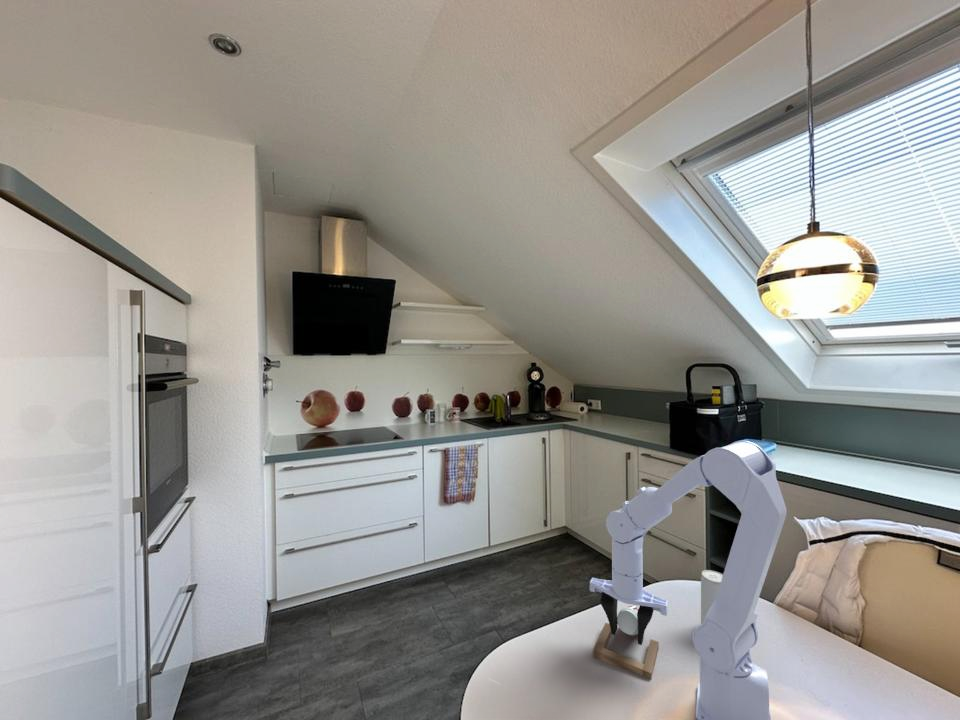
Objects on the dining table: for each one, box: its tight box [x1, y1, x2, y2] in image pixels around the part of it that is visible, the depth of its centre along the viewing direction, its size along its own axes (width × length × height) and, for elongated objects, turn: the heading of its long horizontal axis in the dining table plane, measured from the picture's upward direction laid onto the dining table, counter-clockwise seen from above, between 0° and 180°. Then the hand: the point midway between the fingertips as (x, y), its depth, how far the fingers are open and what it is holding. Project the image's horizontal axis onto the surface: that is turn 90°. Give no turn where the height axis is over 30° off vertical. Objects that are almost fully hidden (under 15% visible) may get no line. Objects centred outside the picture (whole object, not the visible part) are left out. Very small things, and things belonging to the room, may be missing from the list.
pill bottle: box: [617, 605, 639, 636], centre depth 80 cm, size 5×5×8 cm
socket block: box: [592, 622, 660, 680], centre depth 76 cm, size 10×9×2 cm
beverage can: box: [700, 569, 723, 625], centre depth 82 cm, size 5×5×12 cm
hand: (627, 636), depth 76 cm, fingers closed on pill bottle, 4 cm apart
